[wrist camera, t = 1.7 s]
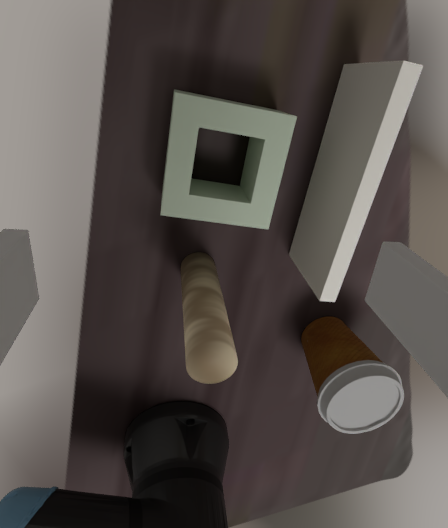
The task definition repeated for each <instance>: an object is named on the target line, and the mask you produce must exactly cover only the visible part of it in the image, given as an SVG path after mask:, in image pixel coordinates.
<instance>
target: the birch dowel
mask: <svg viewBox="0 0 448 528" xmlns="http://www.w3.org/2000/svg"><path fill="white" fill-rule="evenodd" d="M181 284H182V302H183V320H184V338H185V356H186V369H187V372H188V374H189V375H190V377H191V378H193V379H194V380H196V381H198V382H201V383H206V384H212V383H218V382H221V381H224V380H226V379H227V378H229V377H230V376H231V375H232V374H233V373H234V372H235V370H236V368H237V364H238V359H237V354H236V350H235V346H234V342H233V338H232V333H231V329H230V325H229V321H228V317H227V312H226V308H225V304H224V300H223V296H222V291H221V287H220V283H219V279H218V275H217V270H216V266H215V263H214V260H213V259H212V258H211V257H210V256H209V255H208V254H205V253H202V252H196V253H192V254H189V255H188V256H186V257H185V258H184V260H183V261H182V263H181Z"/></svg>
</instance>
